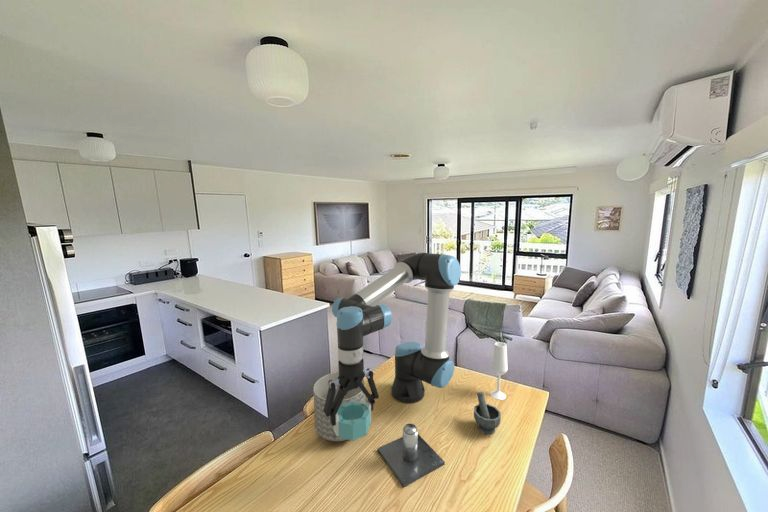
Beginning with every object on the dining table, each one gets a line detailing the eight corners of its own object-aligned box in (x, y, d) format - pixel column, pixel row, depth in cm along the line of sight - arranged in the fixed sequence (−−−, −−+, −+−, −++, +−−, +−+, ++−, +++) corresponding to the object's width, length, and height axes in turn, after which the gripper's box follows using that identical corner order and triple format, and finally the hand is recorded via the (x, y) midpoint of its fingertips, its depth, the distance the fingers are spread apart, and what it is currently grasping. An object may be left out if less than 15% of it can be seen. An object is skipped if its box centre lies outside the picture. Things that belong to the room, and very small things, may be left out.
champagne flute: (507, 393, 133) (510, 343, 129) (504, 401, 127) (507, 349, 124) (492, 389, 136) (494, 339, 133) (488, 396, 131) (490, 345, 127)
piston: (377, 450, 101) (377, 422, 99) (415, 433, 109) (415, 406, 107) (403, 487, 87) (403, 454, 86) (444, 464, 95) (445, 434, 94)
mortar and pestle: (505, 435, 107) (507, 405, 106) (482, 440, 105) (484, 409, 104) (487, 415, 118) (489, 387, 117) (466, 419, 116) (467, 391, 114)
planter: (373, 418, 117) (372, 376, 114) (353, 455, 99) (352, 405, 96) (331, 408, 123) (329, 368, 120) (304, 441, 105) (302, 394, 103)
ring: (331, 423, 93) (331, 408, 92) (360, 412, 97) (360, 398, 97) (343, 444, 84) (343, 428, 83) (374, 431, 89) (374, 416, 88)
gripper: (317, 375, 79) (321, 449, 82) (389, 354, 90) (390, 420, 93) (309, 363, 85) (313, 432, 88) (378, 345, 96) (378, 407, 99)
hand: (352, 426), depth 91 cm, fingers closed on ring, 10 cm apart
